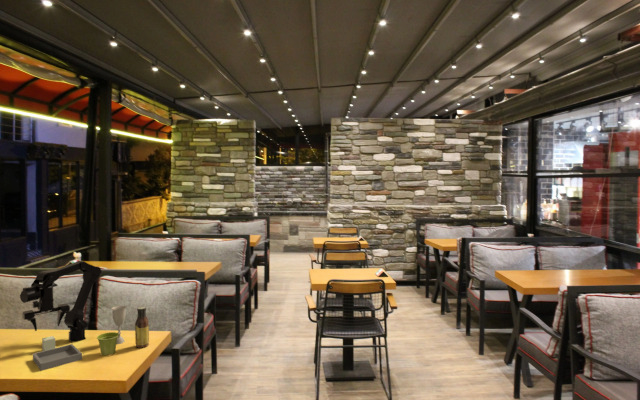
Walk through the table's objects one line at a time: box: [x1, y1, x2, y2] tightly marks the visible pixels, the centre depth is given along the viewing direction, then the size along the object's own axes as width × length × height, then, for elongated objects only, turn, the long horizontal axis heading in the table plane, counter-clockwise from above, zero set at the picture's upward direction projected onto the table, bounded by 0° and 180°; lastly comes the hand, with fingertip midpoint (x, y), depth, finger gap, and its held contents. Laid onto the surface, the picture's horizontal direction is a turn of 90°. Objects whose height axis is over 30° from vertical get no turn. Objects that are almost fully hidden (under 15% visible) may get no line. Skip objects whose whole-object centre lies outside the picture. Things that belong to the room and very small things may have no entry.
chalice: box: [111, 305, 127, 345], centre depth 205 cm, size 7×7×18 cm
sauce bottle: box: [134, 306, 150, 349], centre depth 200 cm, size 7×6×20 cm
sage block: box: [41, 335, 56, 351], centre depth 195 cm, size 4×4×6 cm
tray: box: [32, 343, 83, 371], centre depth 184 cm, size 16×16×3 cm
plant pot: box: [96, 331, 119, 356], centre depth 191 cm, size 9×9×9 cm
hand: (47, 328), depth 195 cm, fingers open, 9 cm apart
